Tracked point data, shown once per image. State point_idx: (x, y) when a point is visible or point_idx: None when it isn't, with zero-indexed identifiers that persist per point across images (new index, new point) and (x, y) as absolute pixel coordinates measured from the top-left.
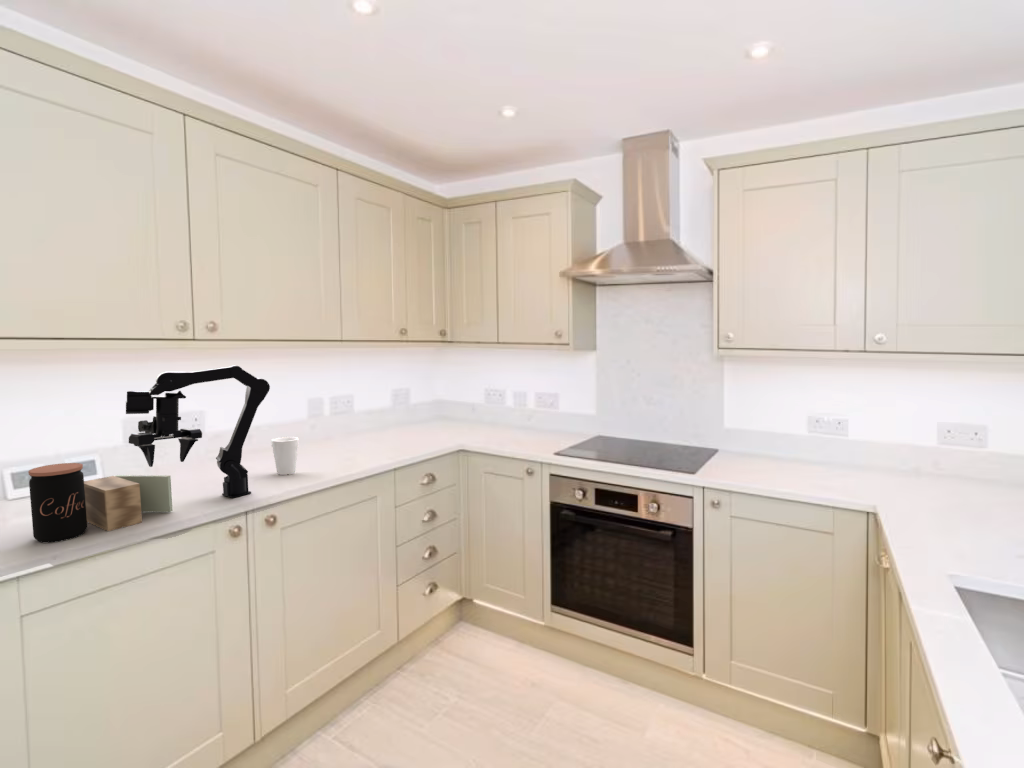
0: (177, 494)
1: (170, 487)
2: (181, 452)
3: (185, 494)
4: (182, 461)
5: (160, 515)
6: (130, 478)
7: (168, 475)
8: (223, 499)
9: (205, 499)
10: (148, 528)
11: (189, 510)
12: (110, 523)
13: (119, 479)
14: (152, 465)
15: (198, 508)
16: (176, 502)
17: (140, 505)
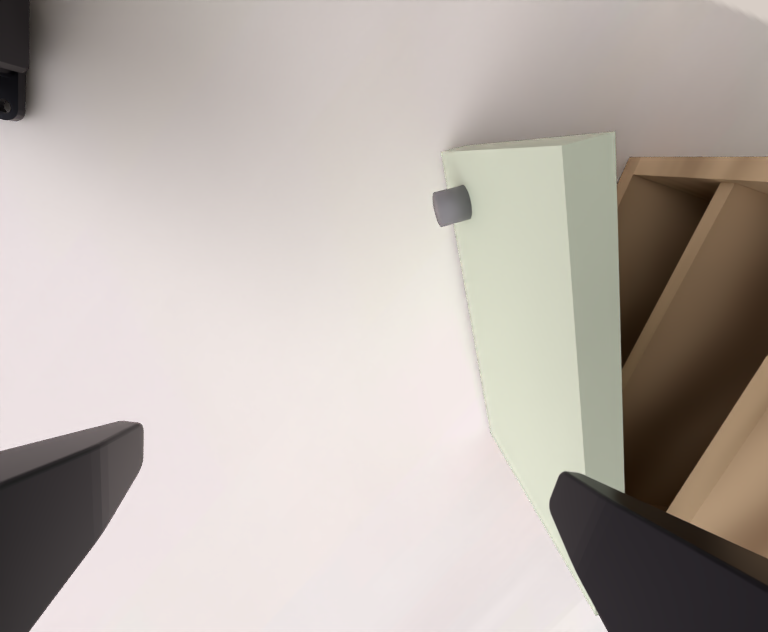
0: (169, 428)
1: (508, 147)
2: (26, 590)
3: (146, 388)
4: (138, 425)
5: None
6: None
7: (563, 175)
8: (89, 11)
9: (159, 166)
10: (723, 10)
11: (389, 56)
12: None
13: (742, 482)
14: (576, 476)
15: (335, 26)
16: (286, 298)
17: (717, 157)
